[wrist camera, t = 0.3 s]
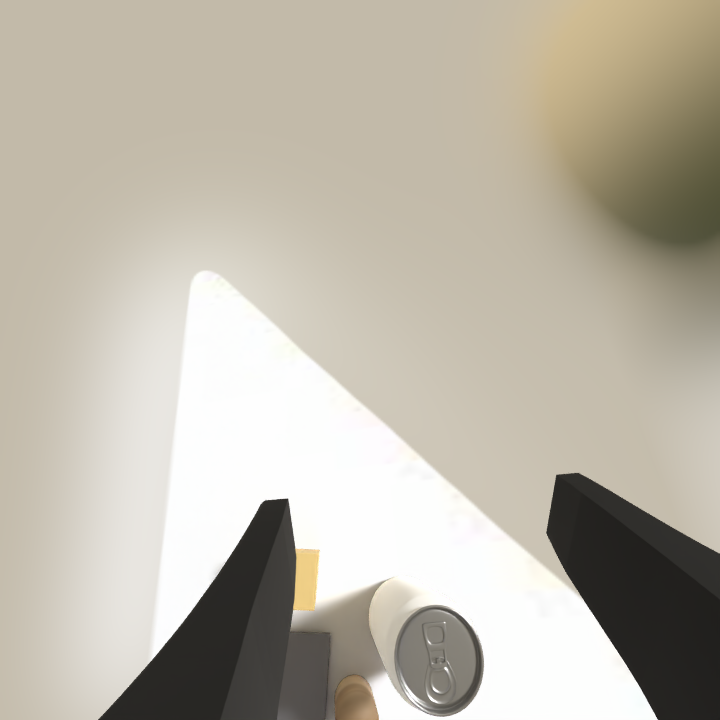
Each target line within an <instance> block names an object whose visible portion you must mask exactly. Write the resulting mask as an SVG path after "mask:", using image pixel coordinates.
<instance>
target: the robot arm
mask: <svg viewBox="0 0 720 720" xmlns="http://www.w3.org/2000/svg"><path fill="white" fill-rule="evenodd" d="M546 533H547V536H548V538H549V539H550V542H551V543H552V546H553V548H554V550H555V552H556V554H557V556H558V558H559V560H560V562H561V564H562V566H563V568H564V569H565V572H566V573H567V575H568V576H569V578H570V579H571V581H572V583H573V584H574V586H575V587H576V589H577V590H578V592H579V593H580V595H581V597H582V598H583V600H584V601H585V603H586V604H587V606H588V607H589V609H590V610H591V612H592V613H593V615H594V616H595V618H596V619H597V621H598V622H599V624H600V626H601V627H602V629H603V630H604V632H605V633H606V635H607V636H608V638H609V639H610V641H611V642H612V644H613V645H614V647H615V648H616V650H617V651H618V653H619V654H620V656H621V657H622V659H623V660H624V662H625V664H626V665H627V667H628V668H629V670H630V672H631V673H632V675H633V677H634V678H635V680H636V681H637V683H638V685H639V686H640V688H641V690H642V692H643V693H644V695H645V697H646V699H647V701H648V702H649V704H650V706H651V708H652V710H653V712H654V713H655V715H656V717H657V719H658V720H720V554H719V553H717V552H715V551H714V550H712V549H710V548H708V547H706V546H704V545H702V544H700V543H699V542H697V541H695V540H693V539H691V538H690V537H688V536H686V535H684V534H683V533H681V532H679V531H677V530H675V529H674V528H672V527H670V526H669V525H667V524H665V523H663V522H662V521H660V520H658V519H656V518H655V517H653V516H651V515H650V514H648V513H646V512H645V511H643V510H641V509H639V508H638V507H636V506H635V505H633V504H631V503H629V502H628V501H626V500H624V499H623V498H621V497H619V496H618V495H616V494H615V493H613V492H611V491H609V490H608V489H606V488H604V487H603V486H601V485H599V484H598V483H596V482H594V481H592V480H591V479H589V478H587V477H585V476H583V475H581V474H579V473H572V474H561V475H556V480H555V486H554V492H553V498H552V503H551V509H550V515H549V520H548V526H547V532H546ZM296 559H297V557H296V550H295V543H294V536H293V529H292V522H291V515H290V508H289V501H288V499H277V500H266V501H264V502H263V503H262V504H261V505H260V507H259V509H258V511H257V513H256V514H255V516H254V518H253V520H252V521H251V523H250V525H249V526H248V528H247V530H246V532H245V533H244V535H243V536H242V538H241V540H240V541H239V543H238V545H237V546H236V548H235V549H234V551H233V552H232V554H231V555H230V557H229V558H228V560H227V562H226V563H225V565H224V566H223V568H222V569H221V571H220V572H219V574H218V575H217V577H216V578H215V579H214V581H213V582H212V584H211V585H210V586H209V588H208V589H207V591H206V592H205V593H204V595H203V596H202V597H201V599H200V600H199V602H198V603H197V604H196V606H195V607H194V609H193V610H192V611H191V613H190V614H189V615H188V616H187V618H186V619H185V620H184V622H183V623H182V624H181V625H180V627H179V628H178V629H177V631H176V632H175V633H174V634H173V636H172V637H171V638H170V639H169V640H168V642H167V643H166V644H165V645H164V646H163V648H162V649H161V650H160V651H159V653H158V654H157V655H156V656H155V657H154V658H153V660H152V661H151V662H150V663H149V664H148V665H147V667H146V668H145V669H144V670H143V671H142V672H141V674H140V675H139V676H138V677H137V678H136V679H135V680H134V681H133V682H132V684H131V685H130V686H129V687H128V688H127V689H126V690H125V691H124V692H123V694H122V695H121V696H120V697H119V698H118V699H117V700H116V701H115V702H114V703H113V705H112V706H111V707H110V708H109V709H108V710H107V711H106V712H105V713H104V714H103V715H102V716H101V717H100V718H99V719H98V720H277V716H278V707H279V700H280V693H281V687H282V680H283V673H284V667H285V660H286V653H287V647H288V640H289V633H290V627H291V620H292V613H293V606H294V599H295V581H296Z"/></svg>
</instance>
